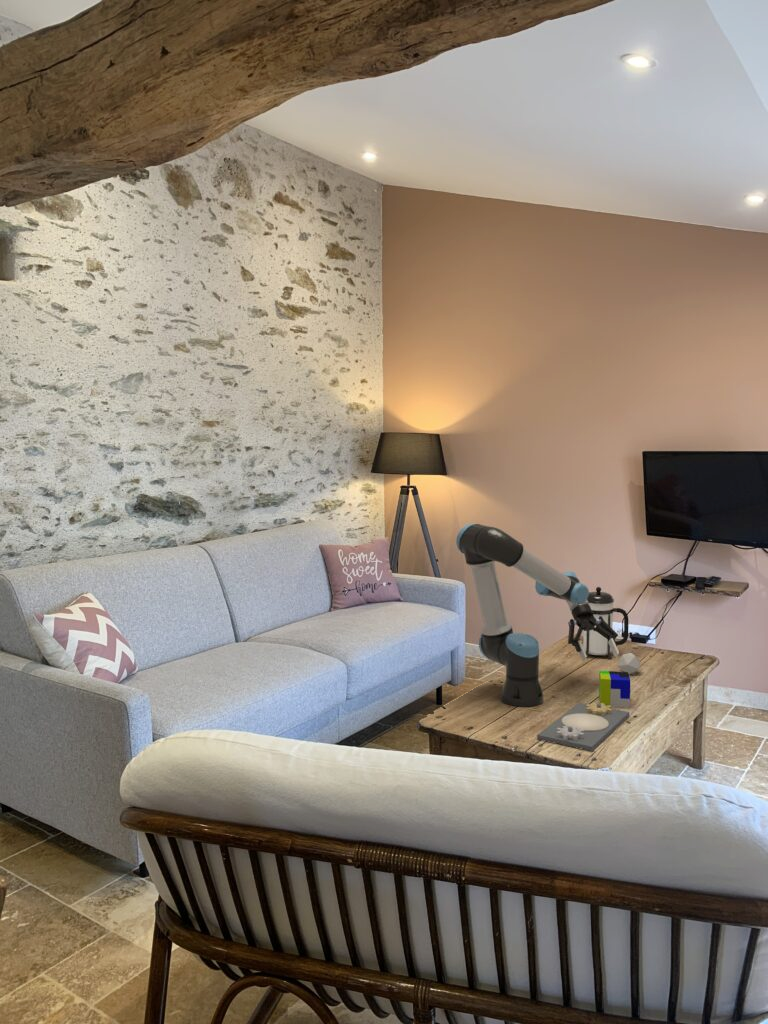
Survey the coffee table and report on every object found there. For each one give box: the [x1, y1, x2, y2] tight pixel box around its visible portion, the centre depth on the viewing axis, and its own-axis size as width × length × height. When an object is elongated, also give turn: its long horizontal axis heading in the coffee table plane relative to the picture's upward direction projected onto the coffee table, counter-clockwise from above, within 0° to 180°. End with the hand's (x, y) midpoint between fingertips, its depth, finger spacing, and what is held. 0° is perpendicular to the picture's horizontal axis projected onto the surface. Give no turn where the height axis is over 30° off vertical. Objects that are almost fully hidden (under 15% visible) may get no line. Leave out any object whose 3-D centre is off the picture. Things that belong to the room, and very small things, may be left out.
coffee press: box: [582, 586, 629, 660], centre depth 352 cm, size 17×16×30 cm
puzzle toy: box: [598, 670, 631, 709], centre depth 293 cm, size 10×10×10 cm
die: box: [617, 652, 642, 676], centre depth 327 cm, size 8×9×10 cm
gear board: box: [536, 702, 630, 752], centre depth 270 cm, size 36×18×4 cm, turn 146°
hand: (601, 657), depth 302 cm, fingers open, 13 cm apart
